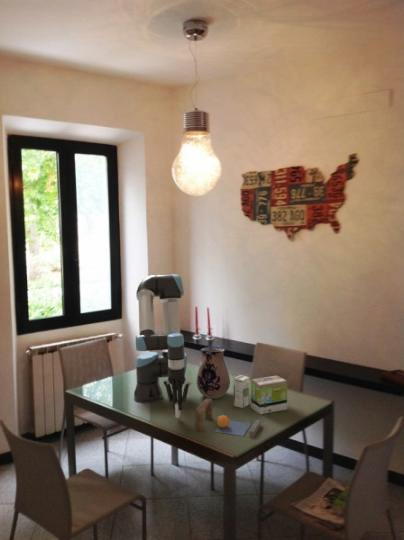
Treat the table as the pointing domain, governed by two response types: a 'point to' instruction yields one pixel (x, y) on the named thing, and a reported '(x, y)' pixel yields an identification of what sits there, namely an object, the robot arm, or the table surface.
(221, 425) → the ball
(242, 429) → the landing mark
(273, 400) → the tea box
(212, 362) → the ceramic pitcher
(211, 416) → the bridge
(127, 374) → the table surface
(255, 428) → the stopper
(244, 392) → the syrup box
